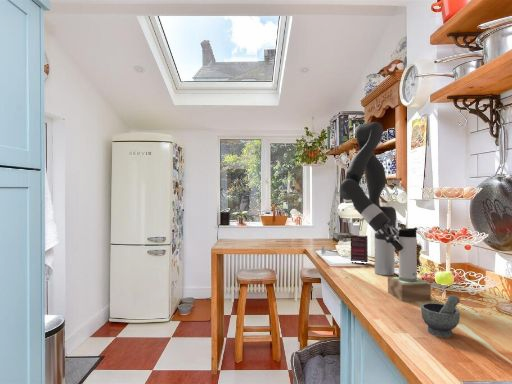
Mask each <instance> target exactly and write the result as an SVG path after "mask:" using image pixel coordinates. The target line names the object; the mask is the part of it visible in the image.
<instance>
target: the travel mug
mask: <svg viewBox="0 0 512 384" xmlns="http://www.w3.org/2000/svg"><path fill="white" fill-rule="evenodd" d="M418 230H419V229H418V227H412V228H411V227H410V228H409V227H407V228H402V229H399V230H398V231H399V243H400V245H401V246H402V247H403V249H402V250H401V251H398V277H399V279H400V280H402V281H407V282H415V281H417V278H418V277H417V275H418V274H417V273H418V271H417V269H418V267H417V266H418V265H417V262H418V261H417V260H418V259H417V257H418V255H417V252H418V248H417V246H418V245H417V244H418V243H417V240H418V239H417V231H418Z"/></svg>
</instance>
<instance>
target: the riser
mask: <svg viewBox="0 0 512 384" xmlns="http://www.w3.org/2000/svg"><path fill="white" fill-rule="evenodd" d="M431 286H432V285H431V284H430V283H428V282H427V281H425V280H422V279H419V278H418V277H417V281H415V282H407V281H402V280H400V279H399V276H398V277H397V276H395V277H391V276H390V277H389V276H388V277H387V293H388V294H389V295H392V296H393V297H394V298H396V299H397V300H399V301H400V302H428V301H429V302H432V301H431V300H432V294H431V293H432V290H431V288H432V287H431Z"/></svg>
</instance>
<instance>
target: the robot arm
mask: <svg viewBox="0 0 512 384" xmlns="http://www.w3.org/2000/svg"><path fill="white" fill-rule="evenodd" d="M383 134H384V128H383V125H382V124H381V123H380V122H377V121H373V122H368V123H360V124H359V125H357V126H356V129H355V136H356V141H357V142H356V143H357V145H358V148H359V149H358V151H357V153H356V154H355V155H354V156H353V157H352V158H351V161H350V163H349V165H348V167H347V170H346V173H345V179H344V180H342V181H341V183H340V188H339V189H340V190H339V194H340V196H341V198H342V199H344V200H346V201H351V202H352V204H353V208H354V210H356V211H357V212H358V213H359V214H360V216H361V217H362V219H363V220H364V221H365V222H366V223H367V224H368V225H369V227H370V228H372V229H373V230H374V232H375V233H374V273H375V274H376V275H379V276H394V275H395V274H396V273H395V269H396V268H395V267H396V266H395V252H396V251H395V250H397V251H398V252H399V251H401V250H402V249H403V247H402V246H401V245H400V243H399V230H398V228H397V227H396V225H397V212H396V209H395V207H393V206H384V205H382V206H381V204H380V197H381V194H382V191H383V190H384V188H385V186H386V183H387V175H386V171H385V170H386V169H385V167H384V165H383V163H382V162H381V161H380V160H379V159H378V158H377V156H376V155H375V150H376V148H377V147H378V145H379V144H380V142H381V140H382V138H383ZM363 175H364V177H365V182H366V186H367V193H368V195H366V193H365V192H364V190H363V188H362V187H361V185H360V183H361V180H362V178H363ZM394 273H395V274H394Z"/></svg>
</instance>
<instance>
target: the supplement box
mask: <svg viewBox="0 0 512 384" xmlns="http://www.w3.org/2000/svg"><path fill="white" fill-rule="evenodd" d="M368 242H369V241H368V235H363V234H362V235H361V234H359V235H358V234H352V235H350V262H351V261H361V262H369V261H368V259H369V257H368V256H369V255H368V253H369V252H368V250H369V249H368V247H369V246H368Z"/></svg>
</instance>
